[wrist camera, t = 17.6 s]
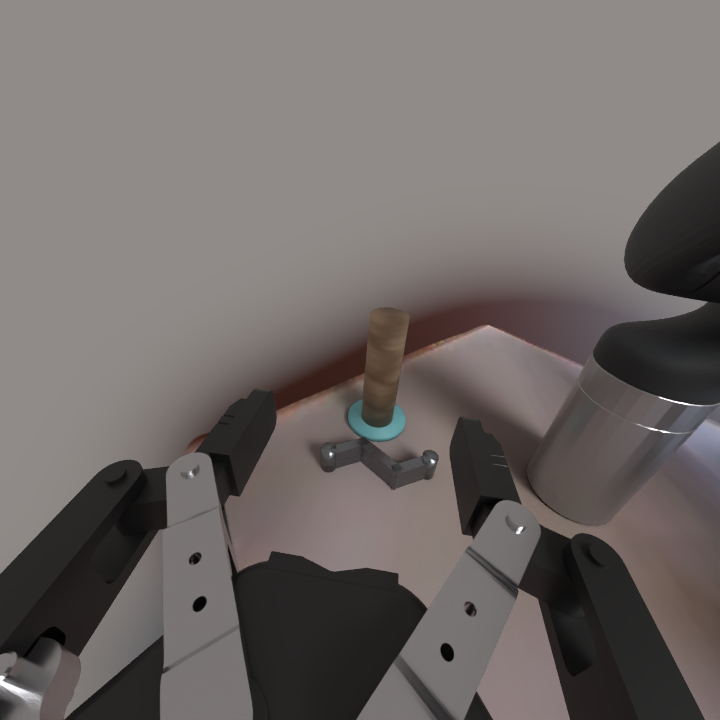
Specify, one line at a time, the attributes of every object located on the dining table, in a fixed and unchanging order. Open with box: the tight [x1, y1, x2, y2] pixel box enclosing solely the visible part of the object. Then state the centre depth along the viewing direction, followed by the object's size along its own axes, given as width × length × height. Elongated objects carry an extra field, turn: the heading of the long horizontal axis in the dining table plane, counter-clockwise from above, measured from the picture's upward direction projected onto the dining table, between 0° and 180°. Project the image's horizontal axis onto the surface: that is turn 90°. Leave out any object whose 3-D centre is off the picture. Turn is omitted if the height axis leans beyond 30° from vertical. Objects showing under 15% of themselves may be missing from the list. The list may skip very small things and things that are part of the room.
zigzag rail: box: [321, 437, 438, 490], centre depth 35 cm, size 14×5×3 cm, turn 88°
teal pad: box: [348, 399, 405, 442], centre depth 43 cm, size 8×8×1 cm
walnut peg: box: [361, 308, 409, 428], centre depth 39 cm, size 5×5×16 cm
